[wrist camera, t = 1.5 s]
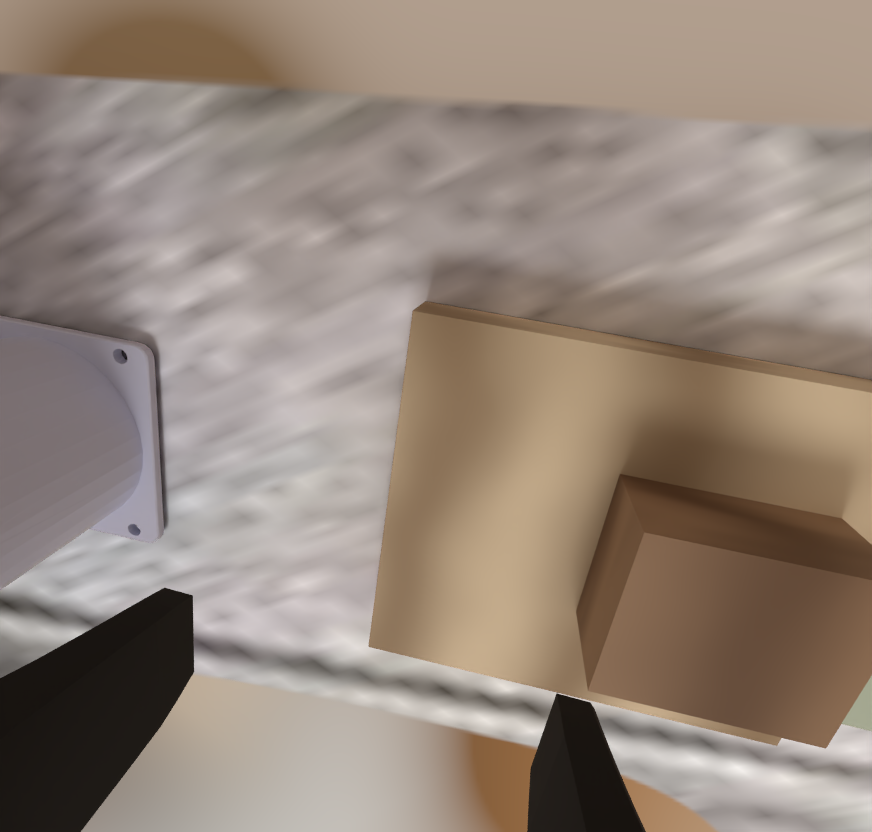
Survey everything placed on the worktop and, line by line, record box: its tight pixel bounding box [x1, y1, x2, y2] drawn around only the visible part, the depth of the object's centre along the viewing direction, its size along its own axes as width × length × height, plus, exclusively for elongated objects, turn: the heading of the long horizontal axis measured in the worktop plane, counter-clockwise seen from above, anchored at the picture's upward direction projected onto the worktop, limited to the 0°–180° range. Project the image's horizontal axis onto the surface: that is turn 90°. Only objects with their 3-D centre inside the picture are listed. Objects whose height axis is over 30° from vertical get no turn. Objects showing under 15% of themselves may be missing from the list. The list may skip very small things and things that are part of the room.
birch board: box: [369, 301, 872, 746], centre depth 16 cm, size 14×12×2 cm
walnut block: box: [576, 474, 872, 748], centre depth 14 cm, size 6×5×3 cm
